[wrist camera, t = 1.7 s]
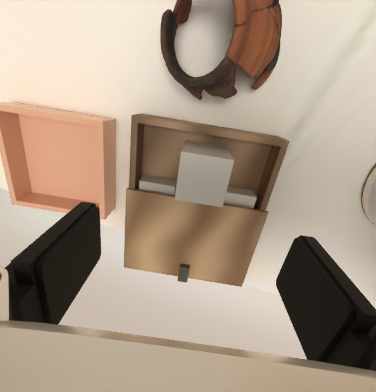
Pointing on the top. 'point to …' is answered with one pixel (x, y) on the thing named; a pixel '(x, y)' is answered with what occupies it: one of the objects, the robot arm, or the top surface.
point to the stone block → (204, 173)
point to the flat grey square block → (158, 184)
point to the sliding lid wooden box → (194, 212)
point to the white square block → (240, 197)
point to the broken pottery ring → (230, 46)
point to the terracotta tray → (57, 158)
